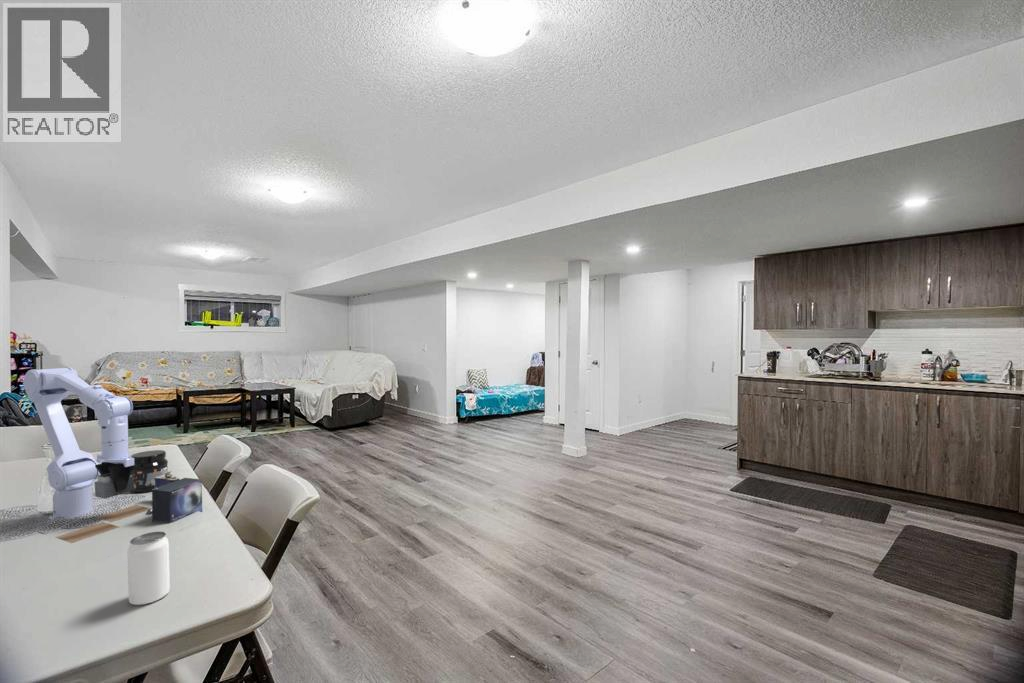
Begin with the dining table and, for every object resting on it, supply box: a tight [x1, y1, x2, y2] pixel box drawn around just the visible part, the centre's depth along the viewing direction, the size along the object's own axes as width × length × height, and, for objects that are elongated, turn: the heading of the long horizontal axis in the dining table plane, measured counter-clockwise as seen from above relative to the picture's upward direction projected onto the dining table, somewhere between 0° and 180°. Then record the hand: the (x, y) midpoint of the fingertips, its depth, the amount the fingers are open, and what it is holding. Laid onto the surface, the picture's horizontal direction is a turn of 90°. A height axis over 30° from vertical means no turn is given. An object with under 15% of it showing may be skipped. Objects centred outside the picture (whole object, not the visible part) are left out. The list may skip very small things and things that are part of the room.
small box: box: [151, 477, 203, 524], centre depth 130 cm, size 11×6×10 cm, turn 168°
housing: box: [94, 473, 134, 500], centre depth 129 cm, size 4×7×6 cm, turn 156°
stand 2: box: [95, 504, 152, 523], centre depth 132 cm, size 8×10×2 cm
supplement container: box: [130, 449, 169, 494], centre depth 157 cm, size 10×10×12 cm
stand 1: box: [54, 521, 120, 544], centre depth 119 cm, size 8×10×2 cm
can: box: [127, 531, 171, 606], centre depth 92 cm, size 6×6×12 cm
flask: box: [154, 470, 180, 488], centre depth 141 cm, size 9×3×11 cm, turn 71°
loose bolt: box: [145, 508, 152, 516], centre depth 131 cm, size 6×3×3 cm, turn 86°
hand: (116, 489), depth 129 cm, fingers closed on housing, 4 cm apart
